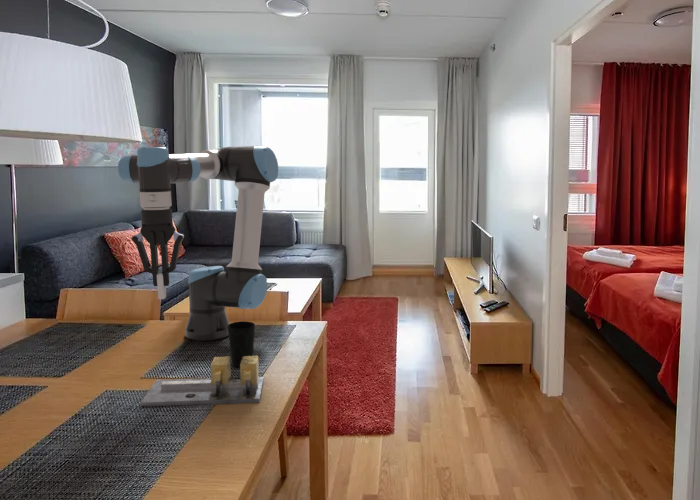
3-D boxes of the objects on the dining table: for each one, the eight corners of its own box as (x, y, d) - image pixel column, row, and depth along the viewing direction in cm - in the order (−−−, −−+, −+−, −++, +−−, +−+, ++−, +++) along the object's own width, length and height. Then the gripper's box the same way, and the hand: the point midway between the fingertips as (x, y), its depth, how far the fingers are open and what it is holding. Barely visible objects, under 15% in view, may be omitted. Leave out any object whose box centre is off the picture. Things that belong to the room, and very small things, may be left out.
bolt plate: (156, 383, 144) (156, 379, 144) (263, 380, 146) (263, 376, 146) (141, 406, 130) (140, 402, 130) (259, 402, 132) (259, 398, 132)
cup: (249, 371, 153) (248, 329, 151) (224, 369, 154) (223, 328, 153) (259, 361, 160) (258, 322, 159) (235, 359, 162) (234, 320, 160)
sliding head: (215, 381, 142) (214, 356, 141) (230, 380, 142) (230, 356, 141) (209, 396, 133) (208, 370, 132) (225, 395, 133) (224, 369, 132)
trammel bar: (165, 383, 141) (164, 358, 140) (259, 381, 143) (258, 355, 142) (155, 399, 132) (153, 371, 131) (255, 396, 134) (255, 368, 133)
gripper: (125, 210, 135) (132, 302, 139) (180, 209, 136) (185, 300, 140) (133, 207, 142) (140, 295, 146) (185, 206, 144) (190, 293, 148)
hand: (162, 297), depth 143 cm, fingers closed
